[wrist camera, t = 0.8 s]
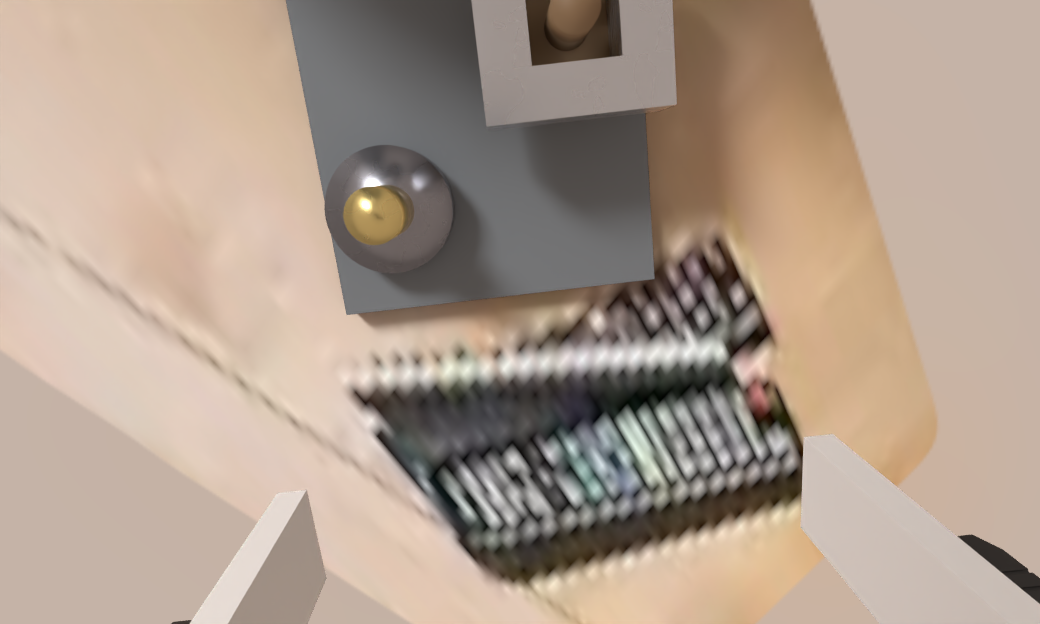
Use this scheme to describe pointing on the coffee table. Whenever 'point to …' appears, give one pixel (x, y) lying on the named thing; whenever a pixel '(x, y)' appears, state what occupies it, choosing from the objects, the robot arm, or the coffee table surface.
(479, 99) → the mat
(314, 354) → the coffee table surface
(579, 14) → the stand
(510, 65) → the square hole frame
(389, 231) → the cylinder
